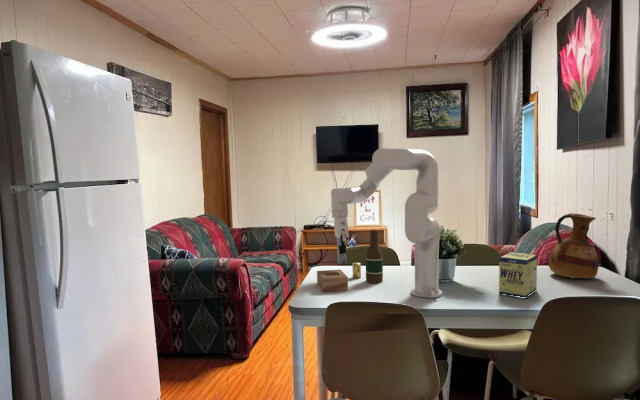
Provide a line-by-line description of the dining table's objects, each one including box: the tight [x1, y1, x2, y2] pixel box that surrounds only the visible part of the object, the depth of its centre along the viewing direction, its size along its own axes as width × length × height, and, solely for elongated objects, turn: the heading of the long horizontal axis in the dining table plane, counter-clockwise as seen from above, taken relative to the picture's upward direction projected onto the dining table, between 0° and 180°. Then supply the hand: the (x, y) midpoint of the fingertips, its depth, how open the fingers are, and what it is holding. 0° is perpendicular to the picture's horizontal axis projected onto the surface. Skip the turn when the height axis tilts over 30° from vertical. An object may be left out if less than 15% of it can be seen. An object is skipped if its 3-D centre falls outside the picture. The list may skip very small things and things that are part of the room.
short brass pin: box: [351, 262, 362, 280], centre depth 206 cm, size 4×4×7 cm
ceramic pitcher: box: [548, 212, 599, 279], centre depth 200 cm, size 20×20×30 cm
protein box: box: [498, 251, 538, 297], centre depth 176 cm, size 10×16×16 cm
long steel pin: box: [336, 237, 347, 265], centre depth 203 cm, size 4×4×14 cm
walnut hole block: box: [316, 269, 349, 293], centre depth 189 cm, size 14×11×6 cm
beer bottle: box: [365, 229, 384, 284], centre depth 197 cm, size 8×8×24 cm
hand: (341, 252), depth 203 cm, fingers closed on long steel pin, 4 cm apart
